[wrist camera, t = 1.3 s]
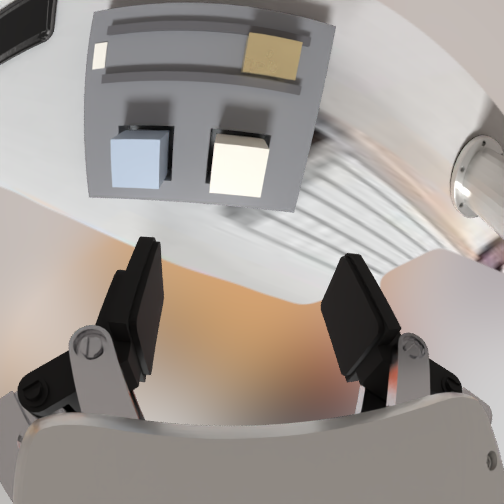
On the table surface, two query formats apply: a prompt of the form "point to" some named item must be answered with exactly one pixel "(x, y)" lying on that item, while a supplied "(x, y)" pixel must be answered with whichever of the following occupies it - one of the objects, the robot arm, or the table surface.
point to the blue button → (139, 158)
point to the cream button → (238, 165)
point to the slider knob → (271, 56)
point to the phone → (25, 26)
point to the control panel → (201, 95)
